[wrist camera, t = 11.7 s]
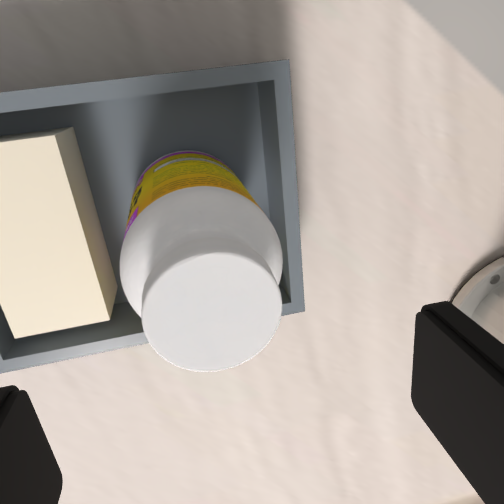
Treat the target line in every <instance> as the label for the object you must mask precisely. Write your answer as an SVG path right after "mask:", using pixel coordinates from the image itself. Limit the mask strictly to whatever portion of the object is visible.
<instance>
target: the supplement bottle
mask: <svg viewBox="0 0 504 504" xmlns="http://www.w3.org/2000/svg"><path fill="white" fill-rule="evenodd" d="M282 265H283V258H282V249H281V244H280V240H279V238H278V235H277V233H276V230H275V228H274V227H273V225H272V223H271V222H270V220H269V219H268V218H267V216H266V215H265V213H264V212H263V211H262V210H261V208H260V207H259V206H258V204H257V203H256V202H255V200H254V199H253V198H252V196H251V195H250V194H249V192H248V191H247V190H246V188H245V187H244V186H243V184H242V183H241V181H240V180H239V179H238V177H237V176H236V175H235V173H234V172H233V171H232V170H231V169H230V168H229V167H228V166H227V165H226V164H225V163H224V162H222V161H221V160H220V159H218V158H216V157H214V156H212V155H210V154H207V153H204V152H200V151H193V150H184V151H176V152H173V153H169V154H167V155H164V156H162V157H160V158H159V159H157V160H156V161H154V162H153V163H152V164H150V165H149V166H148V167H147V168H146V169H145V171H144V172H143V173H142V175H141V176H140V178H139V180H138V181H137V183H136V186H135V189H134V192H133V196H132V200H131V205H130V210H129V216H128V220H127V225H126V230H125V236H124V240H123V245H122V249H121V254H120V279H121V283H122V287H123V290H124V293H125V295H126V297H127V299H128V302H129V303H130V305H131V306H132V308H133V309H134V310H135V311H136V313H137V314H138V315H139V316H140V317H141V320H142V326H143V331H144V333H145V336H146V338H147V340H148V342H149V344H150V345H151V346H152V348H153V349H154V350H155V351H156V352H157V353H158V354H159V355H160V356H161V357H162V358H163V359H165V360H166V361H168V362H169V363H171V364H173V365H175V366H178V367H180V368H183V369H187V370H191V371H197V372H214V371H221V370H226V369H230V368H233V367H235V366H238V365H240V364H242V363H244V362H246V361H248V360H250V359H251V358H253V357H254V356H255V355H257V354H258V353H259V352H260V351H261V350H262V349H263V348H264V347H265V346H266V345H267V344H268V343H269V342H270V340H271V339H272V338H273V336H274V334H275V332H276V330H277V328H278V326H279V323H280V320H281V313H282V297H281V292H280V289H279V282H280V279H281V274H282Z"/></svg>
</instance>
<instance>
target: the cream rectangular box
mask: <svg viewBox="0 0 504 504" xmlns="http://www.w3.org/2000/svg"><path fill="white" fill-rule="evenodd" d="M117 288H118V286H117V283H116V279H115V275H114V272H113V268H112V265H111V261H110V257H109V254H108V250H107V247H106V243H105V240H104V236H103V232H102V229H101V225H100V222H99V218H98V214H97V211H96V207H95V204H94V200H93V197H92V193H91V189H90V186H89V182H88V179H87V175H86V171H85V168H84V164H83V161H82V157H81V153H80V150H79V146H78V143H77V139H76V136H75V132H74V128H73V127H66V128H58V129H50V130H43V131H35V132H27V133H19V134H12V135H4V136H0V305H1V307H2V310H3V312H4V314H5V317H6V319H7V321H8V324H9V326H10V328H11V331H12V333H13V336H14V338H15V339H16V338H21V337H26V336H31V335H36V334H41V333H46V332H52V331H57V330H62V329H67V328H72V327H77V326H82V325H88V324H93V323H98V322H103V321H108V320H110V318H111V313H112V309H113V305H114V301H115V296H116V292H117Z"/></svg>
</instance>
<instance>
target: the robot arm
mask: <svg viewBox="0 0 504 504" xmlns="http://www.w3.org/2000/svg"><path fill="white" fill-rule="evenodd" d="M411 399H412V403H413V405H414V408H415V409H416V411H417V412H418V414H419V415H420V416H421V418H422V419H423V420H424V422H425V423H426V424H427V426H428V427H429V428H430V430H431V431H432V433H433V434H434V435H435V437H436V438H437V439H438V441H439V442H440V443H441V445H442V446H443V447H444V449H445V450H446V451H447V453H448V454H449V456H450V457H451V458H452V460H453V461H454V462H455V464H456V465H457V466H458V468H459V469H460V470H461V472H462V473H463V474H464V476H465V477H466V478H467V480H468V481H469V483H470V484H471V485H472V487H473V488H474V489H475V491H476V492H477V493H478V495H479V496H480V497H481V499H482V500H483V501H484V503H485V504H504V257H502V258H499V259H498V260H496V261H494V262H492V263H491V264H489V265H487V266H486V267H484V268H483V269H482V270H480V271H479V272H478V273H476V274H475V275H474V276H473V277H472V278H471V279H470V280H469V281H468V282H467V283H466V284H465V285H464V286H463V287H462V289H461V290H460V291H459V293H458V294H457V295H456V297H455V298H454V300H453V302H452V303H450V302H448V301H443V302H438V303H433V304H428V305H424V306H423V307H422V309H421V312H418V313H417V315H416V321H415V338H414V354H413V371H412V387H411ZM61 490H62V474H61V471H60V468H59V466H58V464H57V461H56V459H55V457H54V454H53V452H52V450H51V447H50V445H49V443H48V440H47V438H46V435H45V433H44V431H43V428H42V426H41V424H40V421H39V419H38V417H37V414H36V412H35V410H34V407H33V405H32V403H31V400H30V398H29V396H28V394H27V392H26V391H25V390H20V391H19V389H18V388H17V387H16V386H13V385H11V386H6V387H1V388H0V504H58V501H59V497H60V494H61Z"/></svg>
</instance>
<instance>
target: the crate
mask: <svg viewBox="0 0 504 504" xmlns="http://www.w3.org/2000/svg"><path fill="white" fill-rule="evenodd" d="M66 127H73V128H74V132H75V136H76V139H77V143H78V146H79V150H80V153H81V157H82V161H83V164H84V168H85V171H86V175H87V179H88V182H89V186H90V189H91V193H92V197H93V200H94V204H95V207H96V211H97V214H98V218H99V222H100V225H101V229H102V232H103V236H104V240H105V243H106V247H107V250H108V254H109V257H110V261H111V265H112V268H113V272H114V275H115V279H116V283H117V286H118V288H117V292H116V296H115V301H114V305H113V309H112V313H111V318H110V320H108V321H103V322H98V323H93V324H88V325H82V326H77V327H72V328H67V329H62V330H57V331H52V332H46V333H41V334H36V335H31V336H26V337H21V338H16V339H15V338H14V336H13V333H12V331H11V328H10V326H9V324H8V321H7V319H6V317H5V314H4V312H3V310H2V307H1V305H0V373H5V372H10V371H15V370H20V369H25V368H30V367H35V366H40V365H44V364H49V363H54V362H59V361H64V360H69V359H74V358H79V357H84V356H88V355H93V354H98V353H103V352H108V351H113V350H118V349H123V348H127V347H132V346H137V345H142V344H147V343H149V342H148V340H147V338H146V336H145V333H144V331H143V326H142V320H141V317H140V316H139V315H138V314H137V313H136V311H135V310H134V309H133V308H132V306H131V305H130V303H129V302H128V299H127V297H126V295H125V293H124V290H123V287H122V283H121V279H120V254H121V249H122V245H123V240H124V236H125V230H126V225H127V220H128V216H129V210H130V205H131V200H132V196H133V192H134V189H135V186H136V183H137V181H138V180H139V178H140V176H141V175H142V173H143V172H144V171H145V169H146V168H147V167H148V166H149V165H150V164H152V163H153V162H154V161H156V160H157V159H159V158H160V157H162V156H164V155H167V154H169V153H173V152H176V151H184V150H193V151H200V152H204V153H207V154H210V155H212V156H214V157H216V158H218V159H220V160H221V161H222V162H224V163H225V164H226V165H227V166H228V167H229V168H230V169H231V170H232V171H233V172H234V173H235V175H236V176H237V177H238V179H239V180H240V181H241V183H242V184H243V186H244V187H245V188H246V190H247V191H248V192H249V194H250V195H251V196H252V198H253V199H254V200H255V202H256V203H257V204H258V206H259V207H260V208H261V210H262V211H263V212H264V213H265V215H266V216H267V218H268V219H269V220H270V222H271V223H272V225H273V227H274V228H275V230H276V233H277V235H278V238H279V240H280V244H281V249H282V258H283V265H282V274H281V279H280V282H279V289H280V292H281V297H282V313H281V316H284V315H289V314H294V313H298V312H303V311H305V304H304V288H303V272H302V256H301V240H300V224H299V208H298V192H297V176H296V160H295V144H294V128H293V112H292V96H291V80H290V64H289V60H280V61H271V62H262V63H254V64H245V65H236V66H227V67H219V68H210V69H201V70H192V71H184V72H175V73H166V74H157V75H149V76H140V77H131V78H123V79H114V80H105V81H96V82H88V83H79V84H70V85H61V86H53V87H44V88H35V89H26V90H18V91H9V92H0V136H4V135H12V134H19V133H27V132H35V131H43V130H50V129H58V128H66Z"/></svg>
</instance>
